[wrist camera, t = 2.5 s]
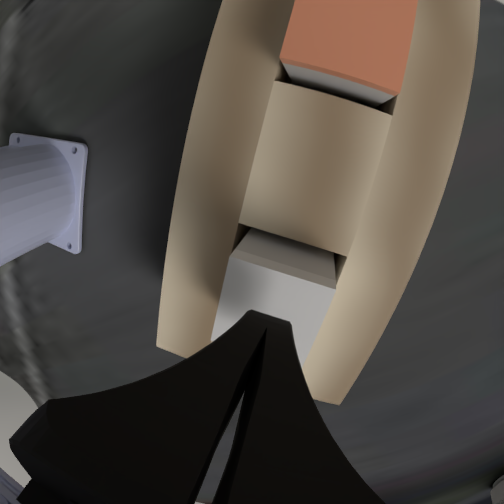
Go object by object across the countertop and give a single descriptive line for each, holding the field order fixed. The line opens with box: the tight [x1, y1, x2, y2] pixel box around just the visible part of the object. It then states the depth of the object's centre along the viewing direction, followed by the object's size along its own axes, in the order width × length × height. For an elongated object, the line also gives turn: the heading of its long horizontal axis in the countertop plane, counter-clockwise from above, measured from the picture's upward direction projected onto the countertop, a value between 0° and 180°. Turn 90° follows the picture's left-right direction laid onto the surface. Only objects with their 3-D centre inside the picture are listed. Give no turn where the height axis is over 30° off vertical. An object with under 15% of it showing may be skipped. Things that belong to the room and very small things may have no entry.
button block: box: [156, 0, 480, 405], centre depth 13 cm, size 10×21×5 cm, turn 167°
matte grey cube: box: [211, 227, 336, 368], centre depth 13 cm, size 4×4×5 cm
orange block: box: [279, 0, 418, 108], centre depth 9 cm, size 4×4×5 cm
